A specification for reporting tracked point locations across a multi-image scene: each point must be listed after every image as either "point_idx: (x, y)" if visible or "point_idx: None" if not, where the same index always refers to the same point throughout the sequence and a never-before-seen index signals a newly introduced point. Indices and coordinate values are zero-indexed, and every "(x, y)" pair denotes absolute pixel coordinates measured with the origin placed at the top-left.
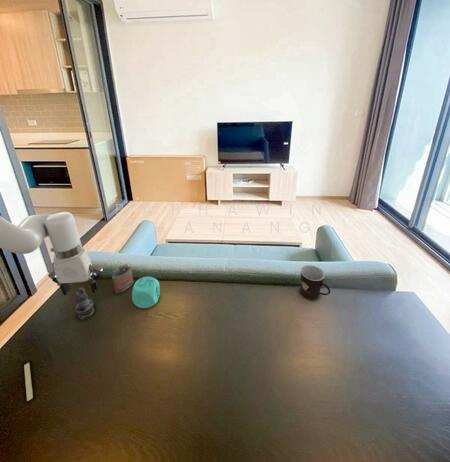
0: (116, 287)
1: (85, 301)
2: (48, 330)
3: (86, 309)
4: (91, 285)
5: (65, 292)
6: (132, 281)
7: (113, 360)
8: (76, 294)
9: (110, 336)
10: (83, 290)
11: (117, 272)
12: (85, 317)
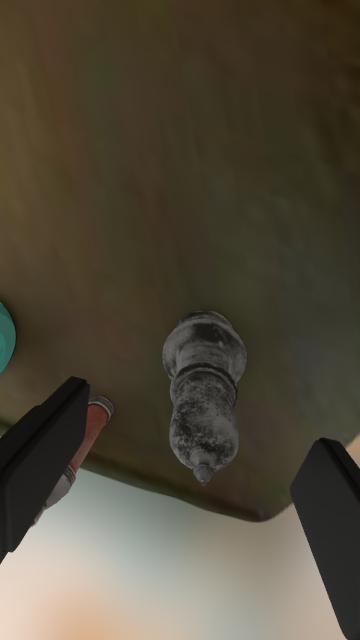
0: (87, 420)
1: (184, 363)
2: (349, 297)
3: (186, 328)
4: (8, 452)
5: (330, 463)
6: None
7: (26, 8)
8: (229, 413)
9: (76, 172)
10: (172, 432)
11: None
12: (202, 315)
